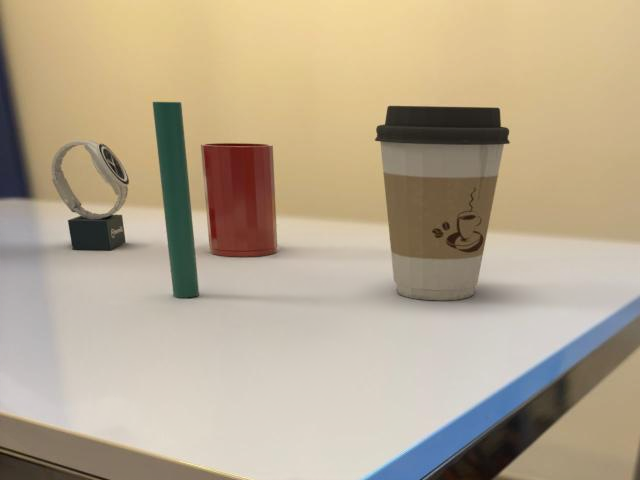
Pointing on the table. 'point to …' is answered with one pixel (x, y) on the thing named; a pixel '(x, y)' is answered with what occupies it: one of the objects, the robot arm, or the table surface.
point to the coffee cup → (439, 195)
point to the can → (240, 198)
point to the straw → (176, 197)
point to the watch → (91, 227)
